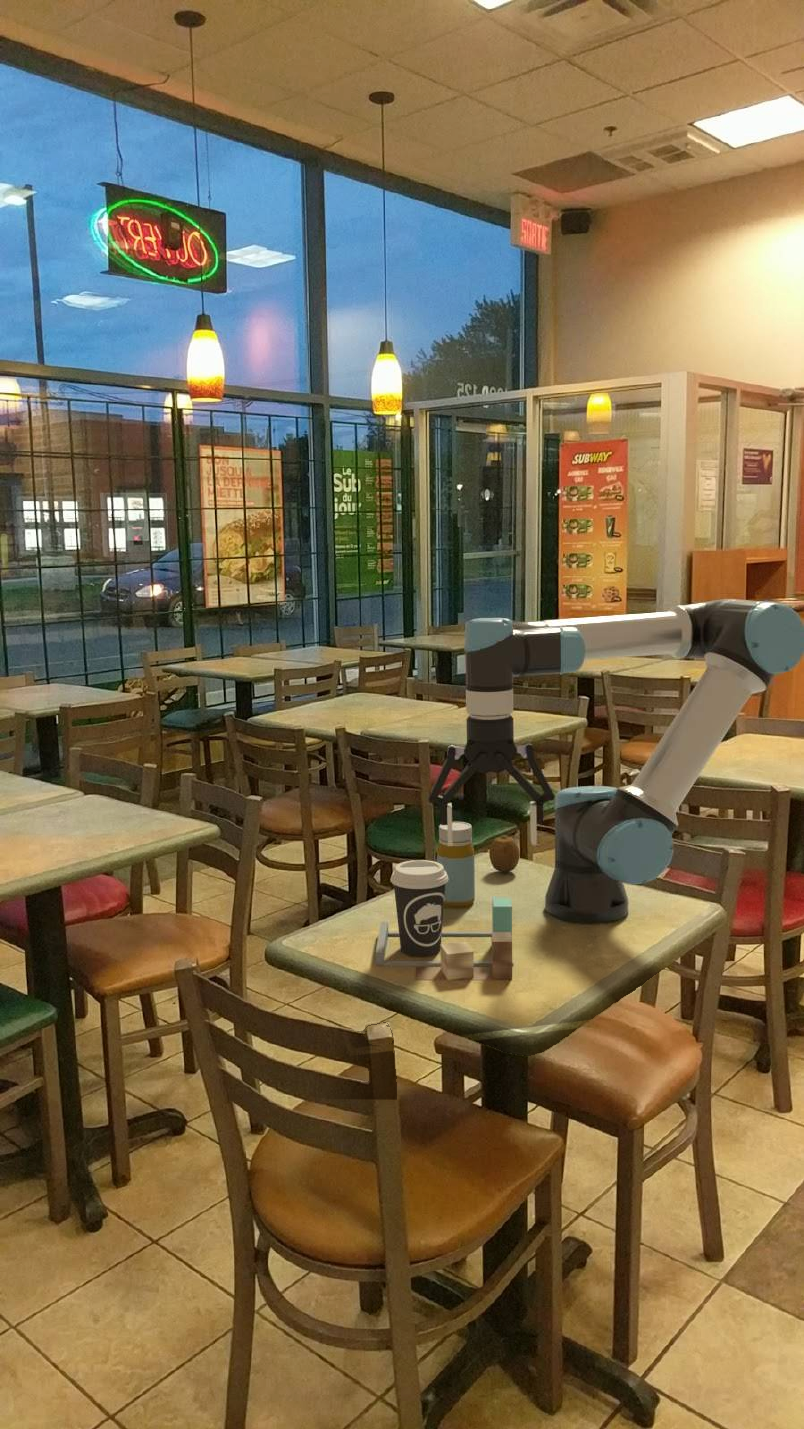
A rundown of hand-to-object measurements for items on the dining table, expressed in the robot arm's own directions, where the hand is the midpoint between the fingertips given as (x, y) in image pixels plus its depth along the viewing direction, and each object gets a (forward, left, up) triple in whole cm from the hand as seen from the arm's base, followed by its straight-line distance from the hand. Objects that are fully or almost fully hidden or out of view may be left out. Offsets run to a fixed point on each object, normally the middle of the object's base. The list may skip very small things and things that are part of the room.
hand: (491, 843), depth 172 cm
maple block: (+6, +10, -18) cm, 22 cm away
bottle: (+6, -24, -19) cm, 32 cm away
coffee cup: (+12, +1, -19) cm, 22 cm away
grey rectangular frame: (+8, +1, -19) cm, 20 cm away
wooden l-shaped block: (+5, +10, -19) cm, 22 cm away
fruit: (-4, -42, -19) cm, 47 cm away
